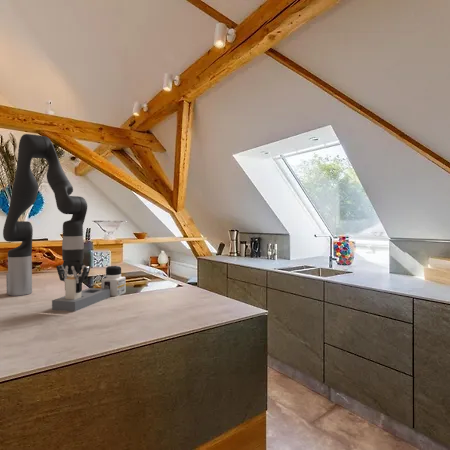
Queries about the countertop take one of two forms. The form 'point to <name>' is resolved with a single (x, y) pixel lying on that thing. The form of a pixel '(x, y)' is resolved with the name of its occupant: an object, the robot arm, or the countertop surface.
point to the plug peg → (71, 289)
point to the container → (114, 281)
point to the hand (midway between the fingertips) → (73, 291)
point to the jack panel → (81, 300)
